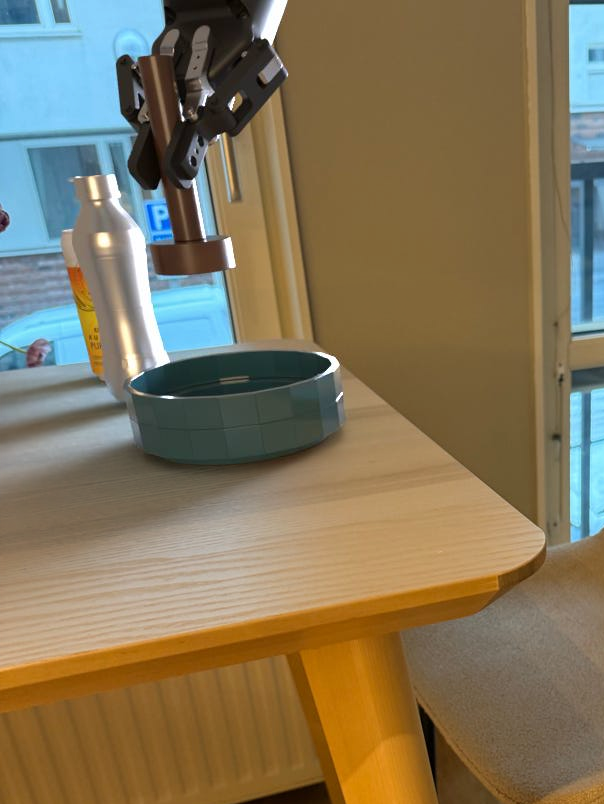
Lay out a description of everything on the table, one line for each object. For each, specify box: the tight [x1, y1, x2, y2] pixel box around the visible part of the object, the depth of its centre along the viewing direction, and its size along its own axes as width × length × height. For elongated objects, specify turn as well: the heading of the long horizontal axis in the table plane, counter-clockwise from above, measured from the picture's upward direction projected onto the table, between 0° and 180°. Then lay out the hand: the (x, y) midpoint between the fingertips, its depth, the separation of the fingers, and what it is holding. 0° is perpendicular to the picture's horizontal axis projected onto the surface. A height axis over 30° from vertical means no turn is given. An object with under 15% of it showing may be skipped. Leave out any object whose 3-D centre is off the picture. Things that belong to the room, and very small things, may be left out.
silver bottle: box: [72, 174, 171, 403], centre depth 87 cm, size 6×7×20 cm
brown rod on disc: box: [136, 54, 236, 277], centre depth 63 cm, size 6×6×13 cm
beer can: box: [60, 228, 105, 382], centre depth 99 cm, size 6×6×15 cm
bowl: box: [122, 348, 347, 466], centre depth 77 cm, size 17×17×6 cm
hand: (158, 179), depth 62 cm, fingers closed on brown rod on disc
